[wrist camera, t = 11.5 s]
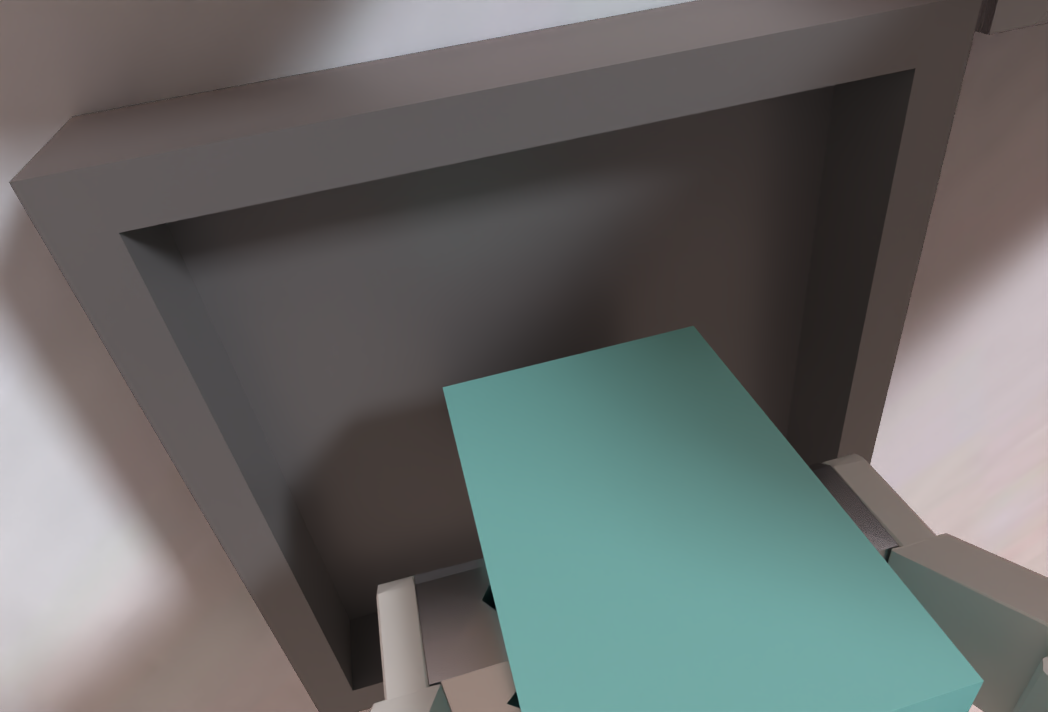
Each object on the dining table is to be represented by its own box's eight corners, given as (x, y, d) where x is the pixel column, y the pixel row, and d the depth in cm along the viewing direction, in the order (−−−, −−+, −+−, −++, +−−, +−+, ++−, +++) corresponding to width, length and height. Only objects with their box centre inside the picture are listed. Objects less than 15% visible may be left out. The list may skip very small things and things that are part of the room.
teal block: (442, 387, 11) (548, 824, 6) (693, 325, 11) (983, 681, 6) (483, 556, 13) (583, 964, 8) (688, 499, 13) (896, 853, 9)
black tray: (72, 116, 10) (9, 182, 8) (864, -31, 11) (984, -8, 9) (323, 619, 17) (324, 721, 15) (787, 489, 18) (844, 566, 16)
